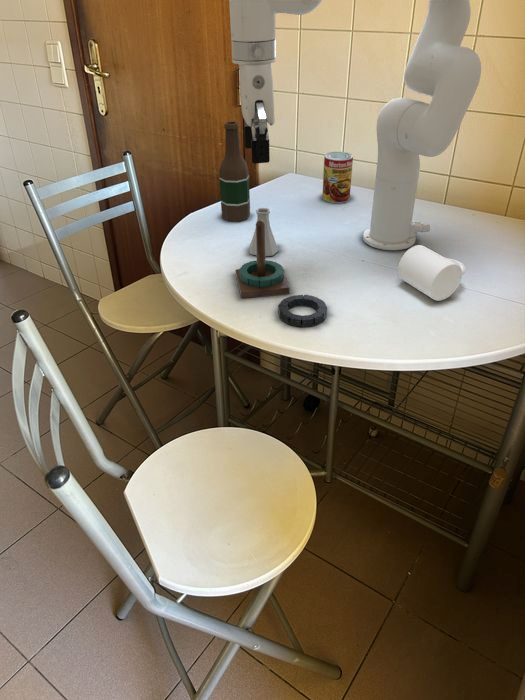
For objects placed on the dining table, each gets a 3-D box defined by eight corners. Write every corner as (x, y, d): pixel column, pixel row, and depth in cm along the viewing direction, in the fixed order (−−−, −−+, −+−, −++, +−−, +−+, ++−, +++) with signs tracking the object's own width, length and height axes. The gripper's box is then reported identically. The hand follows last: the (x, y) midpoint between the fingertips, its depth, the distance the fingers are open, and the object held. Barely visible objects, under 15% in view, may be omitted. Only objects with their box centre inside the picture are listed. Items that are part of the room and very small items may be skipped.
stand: (280, 271, 116) (280, 209, 108) (289, 293, 108) (290, 228, 100) (235, 275, 115) (232, 213, 107) (241, 298, 107) (238, 232, 99)
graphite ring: (319, 299, 106) (320, 292, 105) (331, 324, 99) (332, 317, 98) (275, 303, 105) (275, 297, 104) (283, 329, 98) (283, 322, 97)
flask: (275, 258, 122) (275, 217, 116) (245, 256, 123) (243, 215, 117) (281, 245, 127) (281, 205, 121) (252, 243, 128) (250, 203, 123)
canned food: (330, 204, 148) (333, 161, 141) (317, 195, 154) (319, 153, 146) (354, 200, 150) (358, 157, 143) (340, 191, 156) (343, 150, 149)
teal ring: (278, 264, 116) (278, 258, 115) (287, 284, 109) (287, 277, 108) (237, 268, 115) (236, 262, 114) (243, 289, 107) (243, 282, 106)
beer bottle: (256, 214, 143) (253, 121, 129) (239, 224, 138) (235, 128, 123) (232, 209, 146) (227, 117, 132) (216, 218, 141) (209, 124, 127)
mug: (427, 305, 104) (434, 269, 99) (394, 284, 111) (400, 249, 106) (472, 290, 108) (481, 255, 103) (438, 270, 115) (444, 236, 111)
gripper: (285, 58, 83) (284, 167, 93) (267, 44, 97) (268, 141, 107) (237, 60, 82) (242, 170, 92) (226, 46, 96) (232, 143, 106)
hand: (256, 154), depth 100 cm, fingers open, 9 cm apart
